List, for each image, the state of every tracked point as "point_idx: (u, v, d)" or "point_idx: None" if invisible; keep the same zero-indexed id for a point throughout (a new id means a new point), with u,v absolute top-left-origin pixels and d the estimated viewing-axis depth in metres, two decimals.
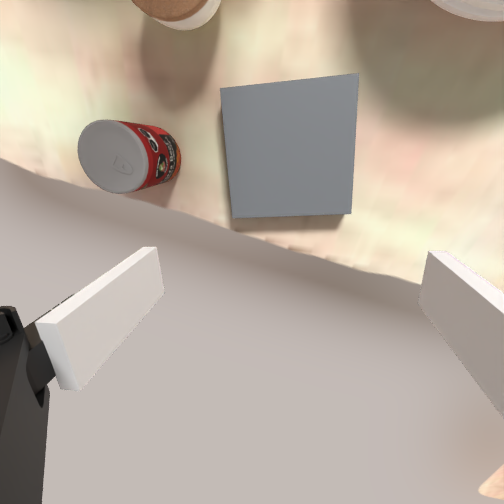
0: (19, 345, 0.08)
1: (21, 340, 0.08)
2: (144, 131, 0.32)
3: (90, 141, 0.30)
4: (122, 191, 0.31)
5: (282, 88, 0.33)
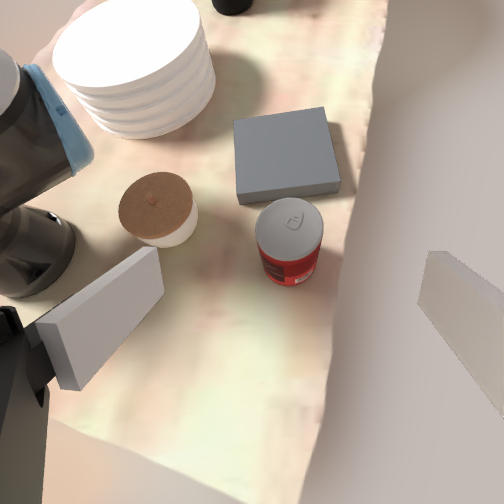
0: (19, 345, 0.08)
1: (21, 340, 0.08)
2: None
3: (274, 246, 0.31)
4: (320, 219, 0.31)
5: (239, 156, 0.46)
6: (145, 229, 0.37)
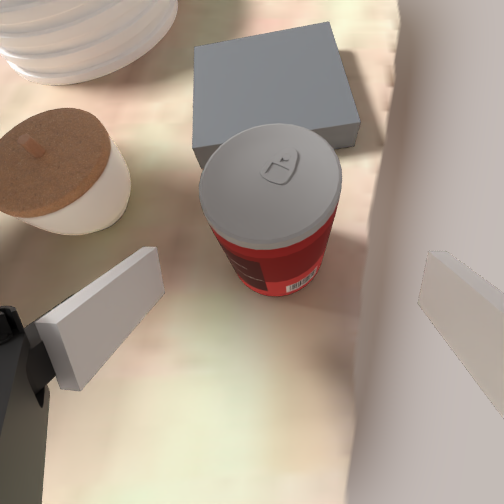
0: (19, 345, 0.08)
1: (21, 340, 0.08)
2: None
3: (237, 219, 0.14)
4: (335, 161, 0.15)
5: (200, 94, 0.30)
6: (17, 199, 0.21)
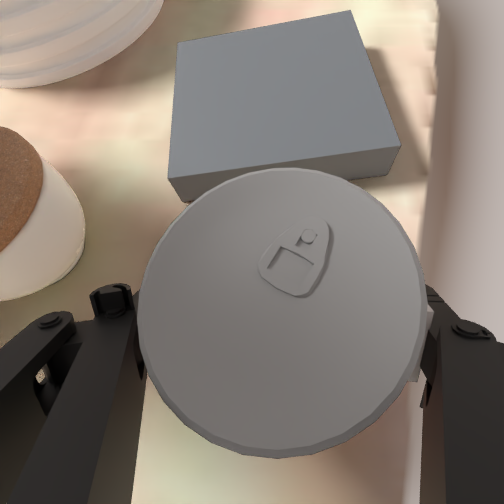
0: (130, 321, 0.08)
1: (132, 316, 0.09)
2: None
3: (209, 376, 0.07)
4: (408, 253, 0.07)
5: (181, 103, 0.23)
6: None
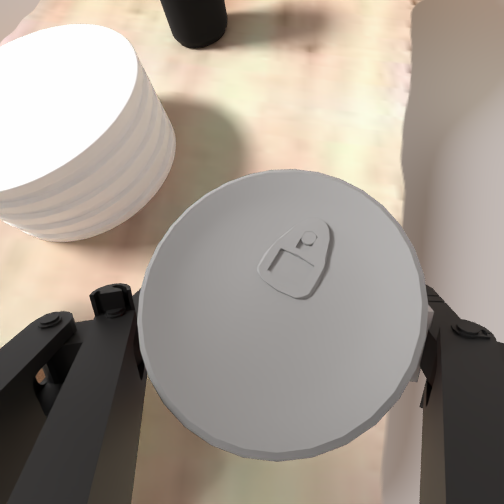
0: (130, 321, 0.08)
1: (132, 316, 0.09)
2: None
3: (209, 378, 0.07)
4: (408, 255, 0.07)
5: None
6: None
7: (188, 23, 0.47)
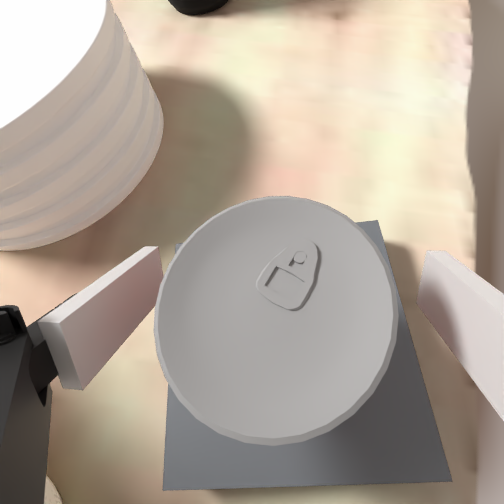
0: (22, 344, 0.08)
1: (24, 339, 0.08)
2: None
3: (215, 378, 0.08)
4: (383, 272, 0.09)
5: None
6: None
7: None
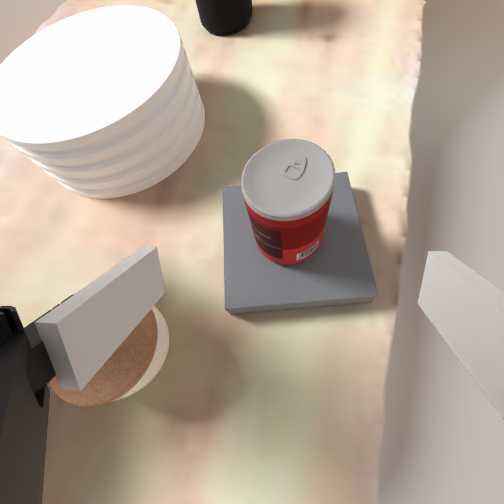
0: (19, 345, 0.08)
1: (21, 340, 0.08)
2: None
3: (267, 202, 0.22)
4: (330, 164, 0.22)
5: (230, 245, 0.33)
6: (79, 394, 0.24)
7: (217, 12, 0.51)
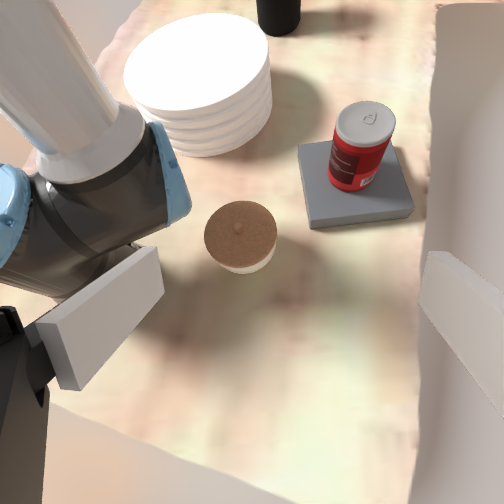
0: (19, 345, 0.08)
1: (21, 340, 0.08)
2: None
3: (354, 136, 0.37)
4: (392, 114, 0.37)
5: (308, 182, 0.48)
6: (235, 259, 0.38)
7: (276, 17, 0.66)
